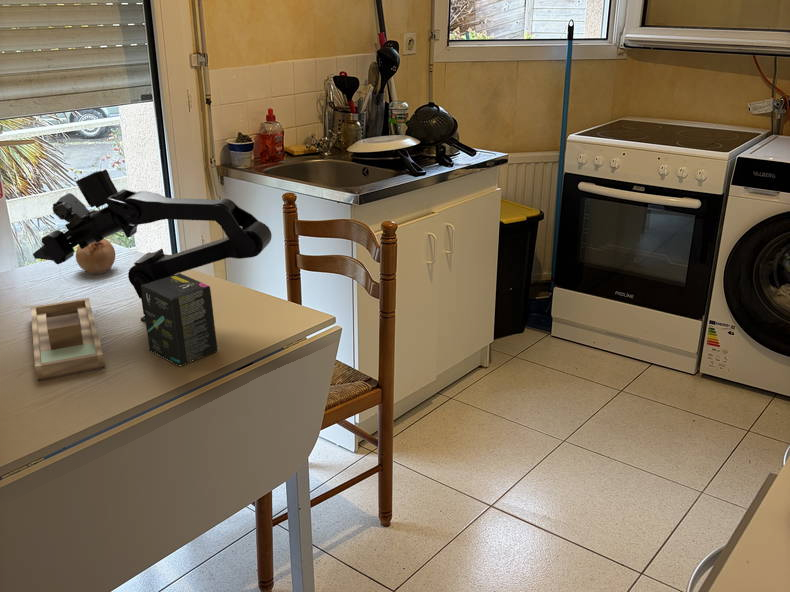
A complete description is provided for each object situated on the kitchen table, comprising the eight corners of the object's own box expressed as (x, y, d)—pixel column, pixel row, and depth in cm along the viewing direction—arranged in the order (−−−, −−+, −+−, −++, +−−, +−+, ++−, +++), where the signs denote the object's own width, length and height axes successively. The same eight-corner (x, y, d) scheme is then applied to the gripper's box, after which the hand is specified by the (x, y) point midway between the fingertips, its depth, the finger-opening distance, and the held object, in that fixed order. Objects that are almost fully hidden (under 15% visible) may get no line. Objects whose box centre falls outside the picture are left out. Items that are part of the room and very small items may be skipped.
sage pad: (98, 364, 151) (97, 359, 151) (43, 375, 147) (41, 369, 147) (94, 347, 158) (93, 342, 157) (41, 357, 154) (40, 352, 154)
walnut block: (83, 344, 157) (79, 324, 155) (51, 350, 154) (47, 329, 152) (81, 332, 162) (77, 312, 160) (49, 337, 159) (46, 317, 158)
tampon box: (218, 352, 157) (212, 285, 151) (179, 368, 151) (171, 299, 145) (187, 335, 164) (179, 271, 158) (148, 350, 158) (139, 284, 152)
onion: (107, 286, 197) (107, 258, 190) (70, 276, 196) (68, 248, 189) (120, 261, 204) (121, 233, 197) (84, 252, 202) (83, 223, 195)
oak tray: (105, 368, 151) (102, 354, 150) (37, 380, 146) (35, 366, 145) (90, 310, 176) (88, 297, 175) (33, 319, 171) (30, 306, 170)
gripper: (103, 177, 171) (49, 202, 176) (58, 203, 154) (-1, 230, 159) (130, 222, 175) (75, 246, 179) (87, 252, 158) (29, 277, 163)
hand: (46, 248), depth 170 cm, fingers open, 9 cm apart
